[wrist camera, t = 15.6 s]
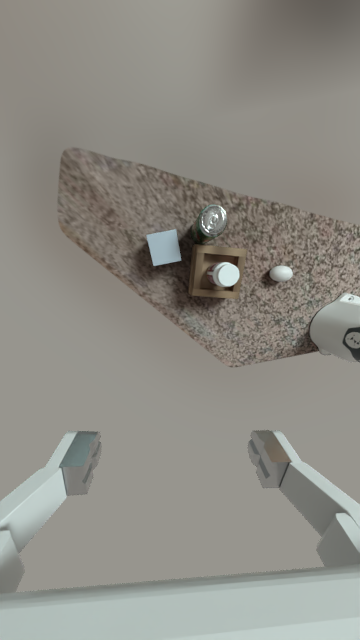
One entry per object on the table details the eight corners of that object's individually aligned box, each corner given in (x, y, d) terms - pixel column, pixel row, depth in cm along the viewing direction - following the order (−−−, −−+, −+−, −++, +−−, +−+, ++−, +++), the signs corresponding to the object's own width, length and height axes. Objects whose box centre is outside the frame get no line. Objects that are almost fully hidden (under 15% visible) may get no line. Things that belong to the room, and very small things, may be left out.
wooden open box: (236, 250, 42) (248, 248, 35) (229, 295, 45) (239, 300, 39) (192, 246, 41) (196, 242, 34) (188, 292, 44) (191, 296, 38)
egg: (284, 282, 45) (294, 283, 41) (263, 279, 44) (271, 280, 41) (289, 267, 44) (300, 267, 40) (267, 264, 43) (276, 264, 40)
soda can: (215, 225, 40) (234, 210, 28) (206, 247, 41) (221, 241, 30) (195, 216, 39) (206, 196, 27) (187, 239, 40) (194, 229, 29)
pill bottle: (225, 284, 40) (239, 289, 32) (205, 283, 40) (214, 288, 32) (228, 262, 39) (243, 262, 31) (207, 262, 38) (217, 261, 30)
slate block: (174, 234, 40) (175, 229, 34) (179, 261, 42) (181, 260, 36) (149, 239, 40) (146, 235, 34) (155, 265, 42) (153, 266, 36)
